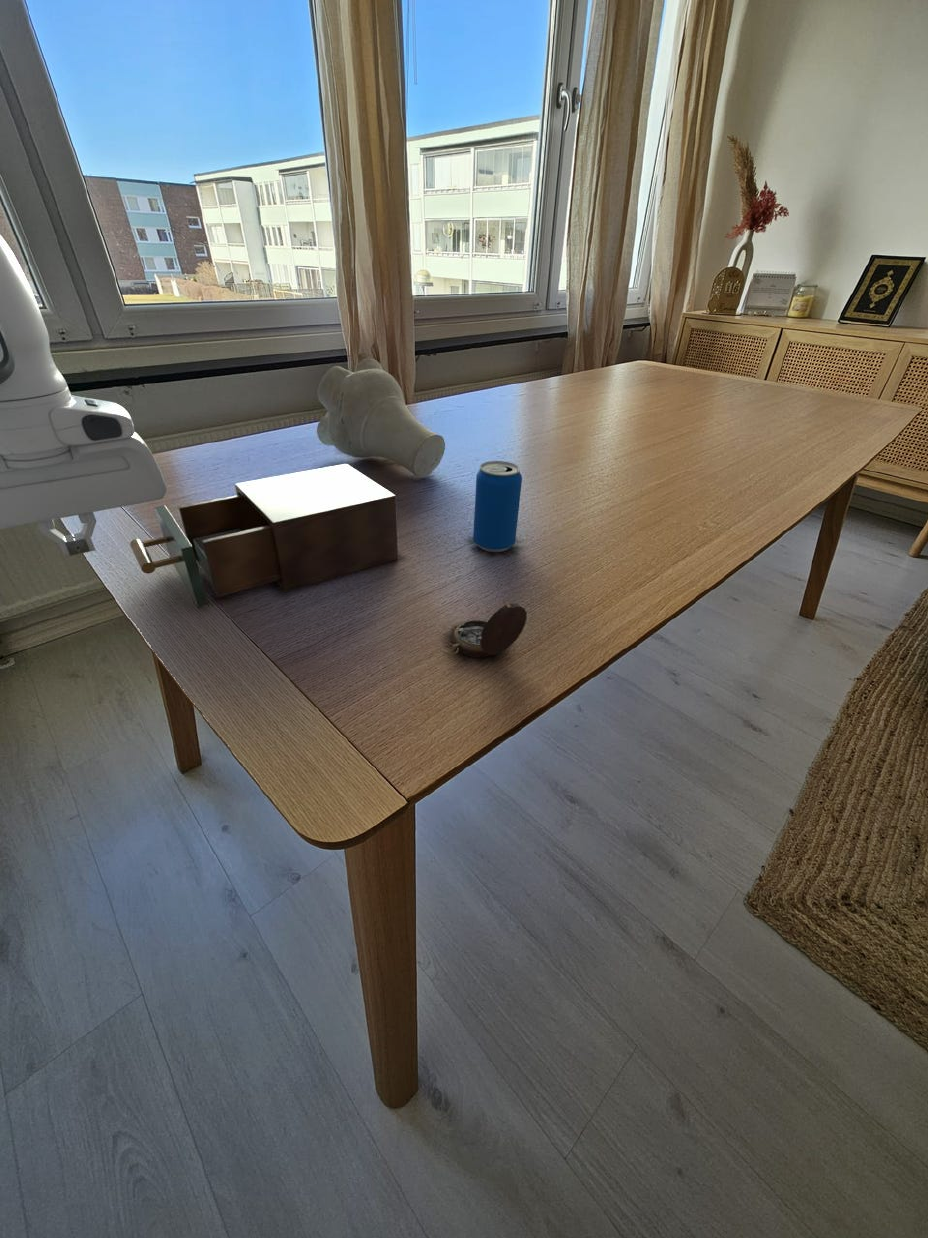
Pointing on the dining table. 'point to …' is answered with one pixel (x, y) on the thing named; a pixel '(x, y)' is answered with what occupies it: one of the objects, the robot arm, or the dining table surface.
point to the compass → (489, 632)
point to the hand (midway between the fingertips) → (80, 551)
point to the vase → (375, 419)
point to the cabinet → (325, 522)
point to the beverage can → (496, 505)
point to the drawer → (215, 547)
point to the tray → (200, 548)
